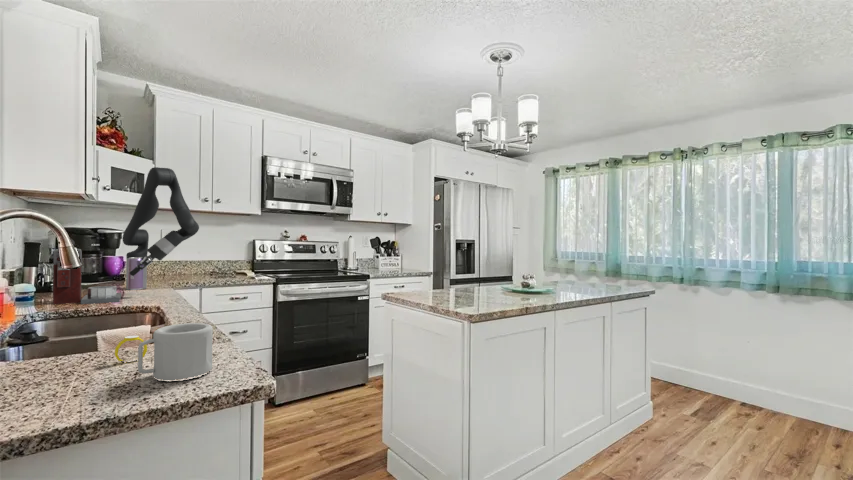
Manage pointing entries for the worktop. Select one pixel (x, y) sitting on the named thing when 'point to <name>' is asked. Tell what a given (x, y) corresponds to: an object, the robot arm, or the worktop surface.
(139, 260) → the beverage can
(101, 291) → the transparent rectangular container
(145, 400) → the worktop surface
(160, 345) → the mug
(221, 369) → the worktop surface
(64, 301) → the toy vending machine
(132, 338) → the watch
